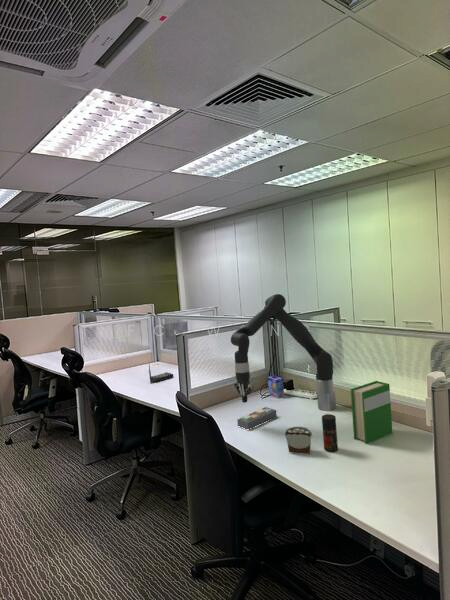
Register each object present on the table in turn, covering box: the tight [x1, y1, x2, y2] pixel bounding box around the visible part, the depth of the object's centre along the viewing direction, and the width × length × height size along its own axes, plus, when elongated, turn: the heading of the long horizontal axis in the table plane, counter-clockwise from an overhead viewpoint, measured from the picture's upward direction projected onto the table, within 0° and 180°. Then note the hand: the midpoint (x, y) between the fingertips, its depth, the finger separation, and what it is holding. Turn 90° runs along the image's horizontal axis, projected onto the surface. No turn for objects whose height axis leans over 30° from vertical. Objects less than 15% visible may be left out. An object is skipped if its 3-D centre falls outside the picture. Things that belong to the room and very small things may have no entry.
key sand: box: [254, 408, 265, 416], centre depth 213 cm, size 4×4×3 cm
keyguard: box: [236, 406, 278, 430], centre depth 211 cm, size 8×22×4 cm, turn 131°
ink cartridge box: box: [267, 373, 285, 399], centre depth 251 cm, size 10×6×14 cm, turn 29°
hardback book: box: [350, 380, 393, 445], centre depth 181 cm, size 18×7×24 cm, turn 119°
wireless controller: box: [148, 364, 174, 385], centre depth 315 cm, size 20×14×17 cm
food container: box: [283, 426, 313, 455], centre depth 174 cm, size 12×6×10 cm, turn 71°
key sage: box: [240, 414, 252, 422], centre depth 206 cm, size 4×4×3 cm
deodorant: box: [321, 413, 339, 453], centre depth 172 cm, size 6×6×15 cm
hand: (244, 402), depth 206 cm, fingers closed
